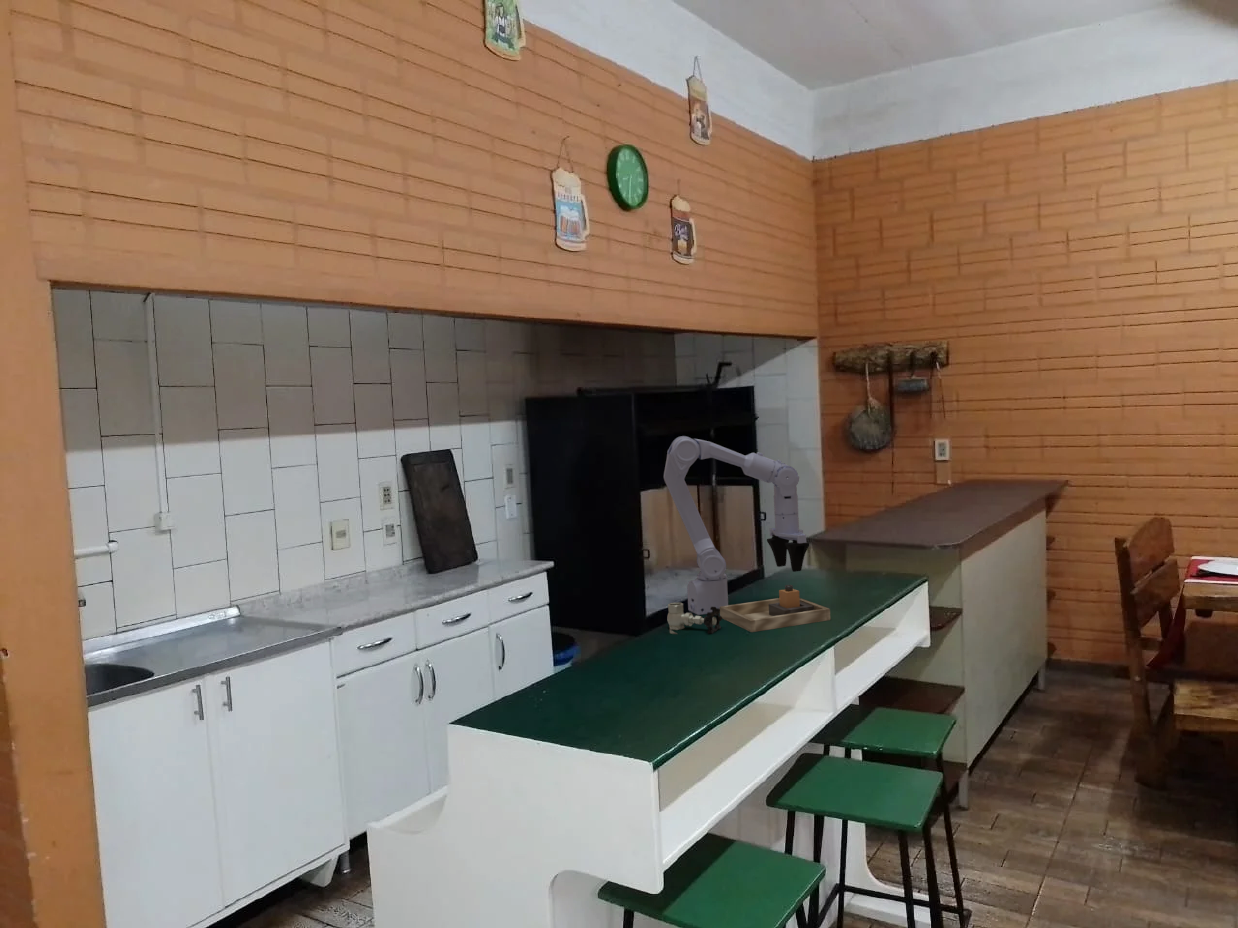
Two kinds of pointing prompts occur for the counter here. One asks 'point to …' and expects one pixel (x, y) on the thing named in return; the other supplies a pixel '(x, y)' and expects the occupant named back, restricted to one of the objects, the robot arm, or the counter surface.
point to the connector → (789, 597)
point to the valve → (692, 618)
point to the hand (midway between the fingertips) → (789, 568)
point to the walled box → (773, 614)
